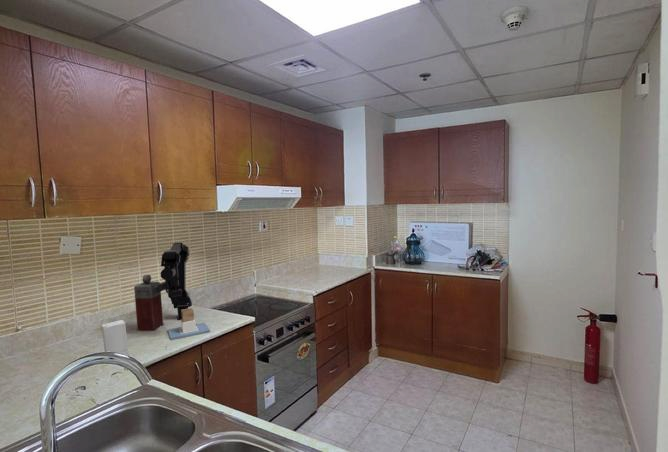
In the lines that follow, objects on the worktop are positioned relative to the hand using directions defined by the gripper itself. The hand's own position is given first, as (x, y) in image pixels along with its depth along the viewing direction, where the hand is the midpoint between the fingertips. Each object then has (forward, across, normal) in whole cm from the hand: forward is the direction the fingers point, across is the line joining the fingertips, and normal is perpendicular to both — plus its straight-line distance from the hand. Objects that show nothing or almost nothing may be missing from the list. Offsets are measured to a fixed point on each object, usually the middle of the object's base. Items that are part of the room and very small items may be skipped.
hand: (174, 306), depth 189 cm
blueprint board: (+12, +8, +5) cm, 15 cm away
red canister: (+12, -11, -12) cm, 20 cm away
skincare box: (+12, +22, -26) cm, 36 cm away
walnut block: (+6, +8, +5) cm, 11 cm away
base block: (+11, +8, +5) cm, 14 cm away
